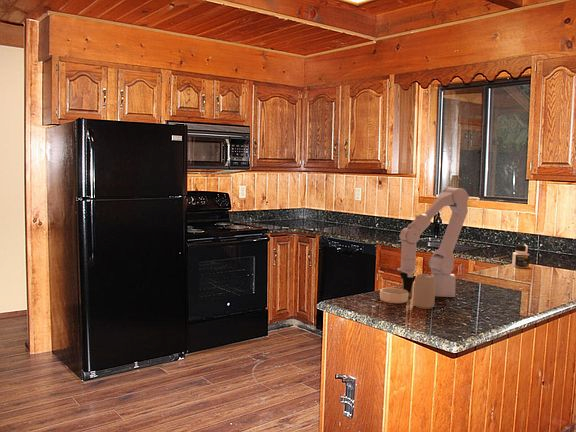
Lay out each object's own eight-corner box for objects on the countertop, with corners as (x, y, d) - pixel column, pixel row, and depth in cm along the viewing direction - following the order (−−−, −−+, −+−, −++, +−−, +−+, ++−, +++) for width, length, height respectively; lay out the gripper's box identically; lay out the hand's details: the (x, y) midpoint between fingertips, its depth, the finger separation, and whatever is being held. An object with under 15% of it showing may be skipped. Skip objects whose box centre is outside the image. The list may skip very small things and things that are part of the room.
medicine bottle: (515, 267, 293) (516, 245, 292) (511, 265, 300) (513, 243, 299) (529, 268, 292) (530, 245, 291) (525, 265, 299) (527, 243, 298)
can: (430, 304, 209) (432, 273, 208) (436, 309, 201) (438, 277, 200) (411, 304, 209) (412, 272, 208) (416, 309, 201) (417, 276, 200)
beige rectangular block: (411, 295, 222) (411, 278, 222) (412, 297, 220) (412, 280, 219) (401, 295, 223) (401, 278, 222) (402, 296, 220) (402, 279, 219)
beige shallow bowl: (405, 297, 219) (405, 288, 219) (409, 303, 209) (409, 294, 209) (378, 296, 220) (379, 287, 220) (381, 302, 210) (381, 293, 209)
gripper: (395, 254, 227) (394, 287, 228) (400, 260, 213) (399, 295, 214) (413, 255, 227) (411, 287, 228) (419, 261, 212) (417, 296, 214)
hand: (406, 291), depth 221 cm, fingers closed on beige rectangular block, 2 cm apart
